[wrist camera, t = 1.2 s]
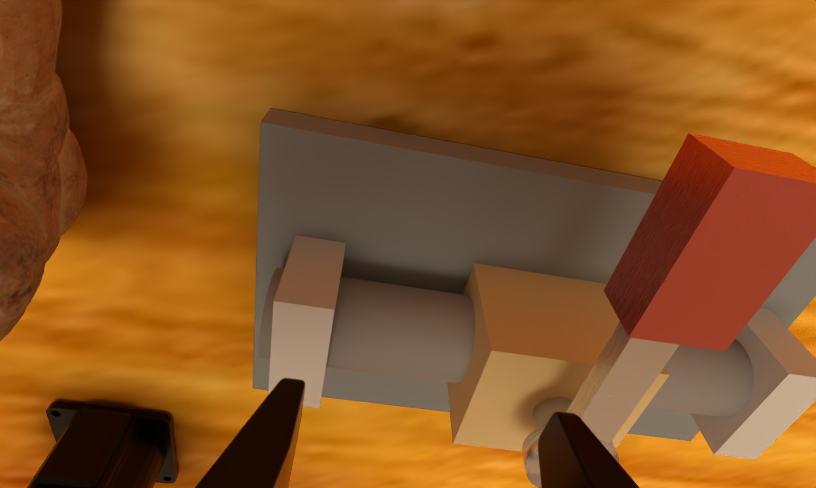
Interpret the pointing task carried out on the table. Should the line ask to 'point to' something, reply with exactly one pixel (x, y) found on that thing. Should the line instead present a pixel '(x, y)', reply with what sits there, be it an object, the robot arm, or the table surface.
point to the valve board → (450, 228)
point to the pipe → (33, 152)
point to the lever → (694, 270)
